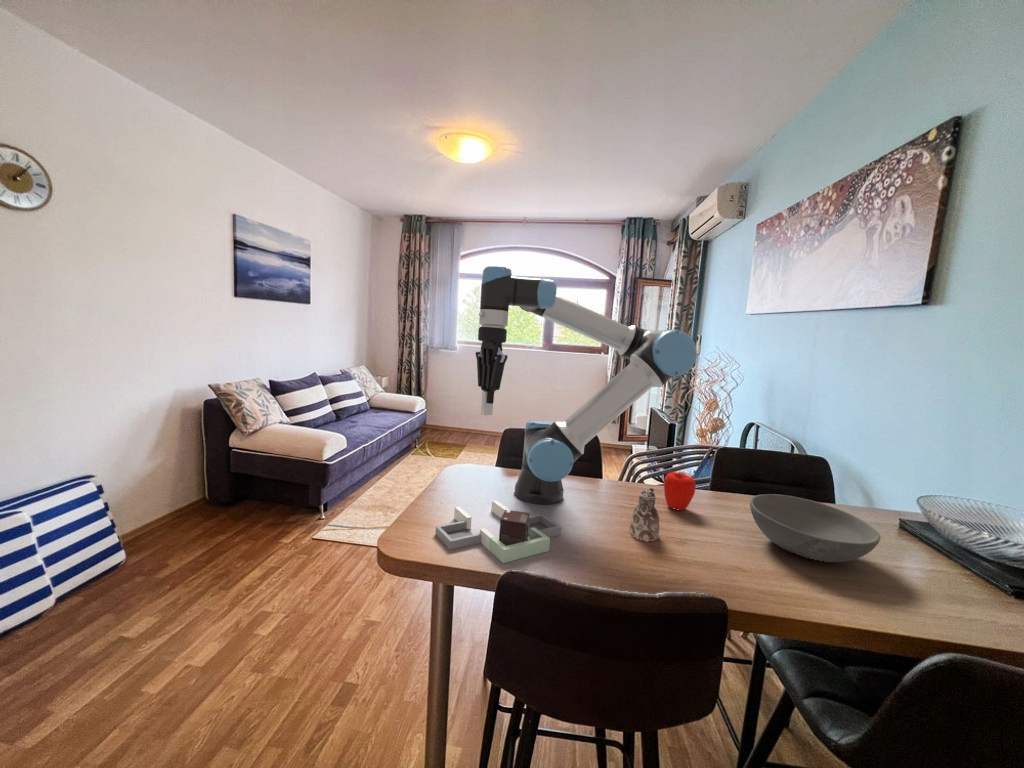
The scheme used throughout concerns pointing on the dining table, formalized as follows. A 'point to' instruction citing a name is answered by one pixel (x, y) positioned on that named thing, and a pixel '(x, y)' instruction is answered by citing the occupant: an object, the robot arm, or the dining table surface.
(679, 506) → the apple
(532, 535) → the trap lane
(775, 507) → the bowl
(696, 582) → the dining table surface
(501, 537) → the box
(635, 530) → the figurine
